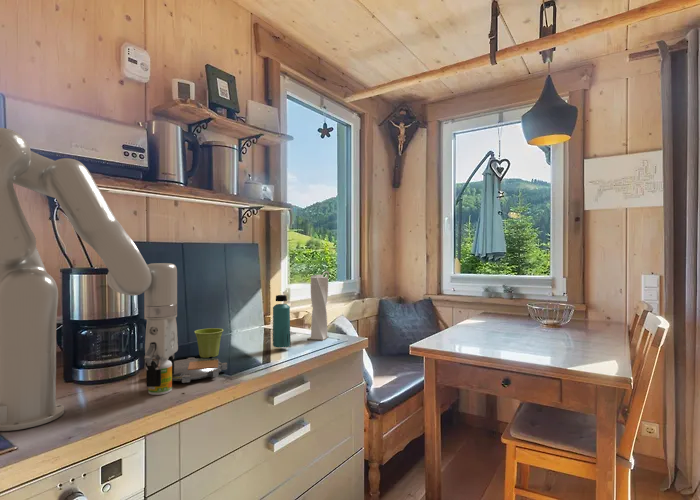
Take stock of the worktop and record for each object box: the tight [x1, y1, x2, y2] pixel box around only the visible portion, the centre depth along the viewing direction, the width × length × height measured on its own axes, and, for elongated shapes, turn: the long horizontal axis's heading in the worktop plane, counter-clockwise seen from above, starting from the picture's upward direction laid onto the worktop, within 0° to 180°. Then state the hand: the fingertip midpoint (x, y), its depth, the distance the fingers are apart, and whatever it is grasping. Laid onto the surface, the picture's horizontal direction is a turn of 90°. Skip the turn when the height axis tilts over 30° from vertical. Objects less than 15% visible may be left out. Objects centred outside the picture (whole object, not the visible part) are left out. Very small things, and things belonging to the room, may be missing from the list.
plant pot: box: [194, 327, 224, 359], centre depth 140 cm, size 9×9×9 cm
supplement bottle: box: [147, 356, 173, 396], centre depth 103 cm, size 5×5×10 cm
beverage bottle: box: [272, 294, 291, 349], centre depth 149 cm, size 6×7×20 cm
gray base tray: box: [172, 357, 228, 384], centre depth 117 cm, size 21×21×6 cm
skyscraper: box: [307, 270, 330, 341], centre depth 169 cm, size 8×8×28 cm
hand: (161, 380), depth 103 cm, fingers open, 8 cm apart
